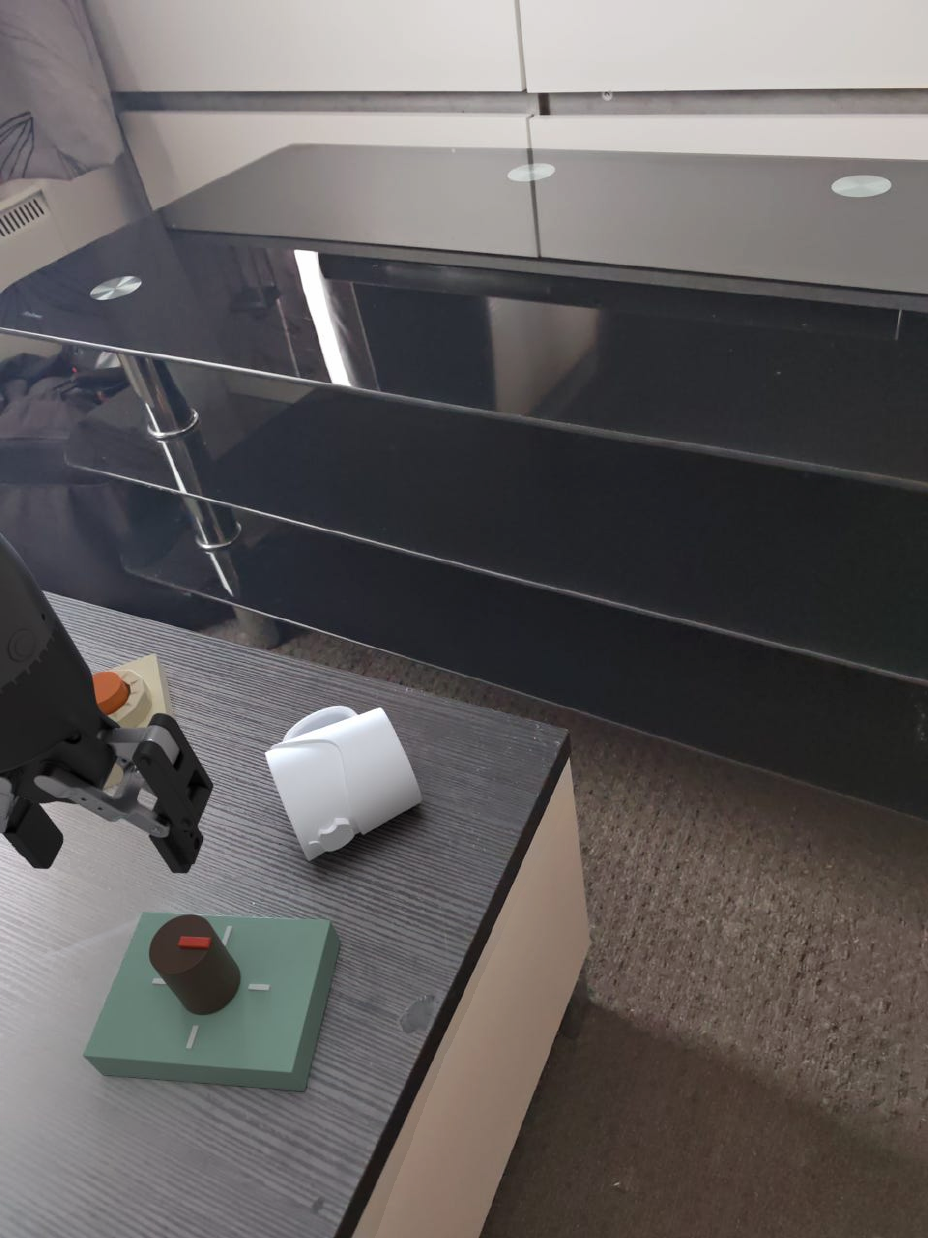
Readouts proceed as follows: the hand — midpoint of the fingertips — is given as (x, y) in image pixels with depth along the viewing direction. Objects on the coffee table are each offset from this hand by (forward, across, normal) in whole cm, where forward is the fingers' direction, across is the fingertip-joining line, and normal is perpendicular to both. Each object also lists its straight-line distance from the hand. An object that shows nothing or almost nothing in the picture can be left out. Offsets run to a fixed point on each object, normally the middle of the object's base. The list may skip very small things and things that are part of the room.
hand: (118, 856), depth 50 cm
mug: (+18, -5, -17) cm, 25 cm away
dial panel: (+18, 0, 0) cm, 18 cm away
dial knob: (+15, 0, 0) cm, 15 cm away
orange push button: (+14, +18, -24) cm, 33 cm away
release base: (+18, +18, -24) cm, 35 cm away
